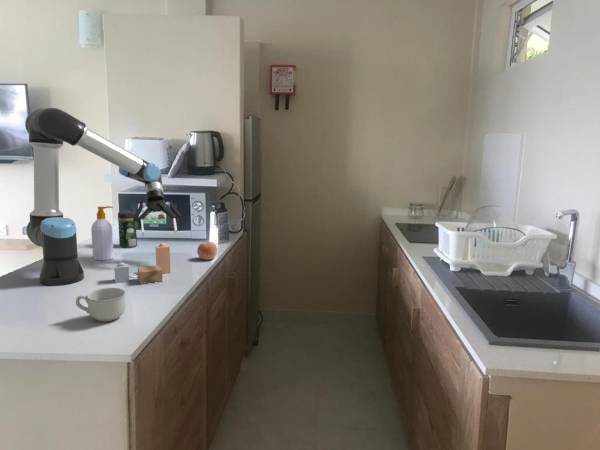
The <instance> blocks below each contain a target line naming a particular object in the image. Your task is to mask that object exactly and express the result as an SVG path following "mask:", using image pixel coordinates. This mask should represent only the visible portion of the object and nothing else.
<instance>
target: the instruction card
mask: <svg viewBox="0 0 600 450" xmlns="http://www.w3.org/2000/svg"><path fill="white" fill-rule="evenodd" d="M129 278H138V270H137V271H134V272H129Z"/></svg>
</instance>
